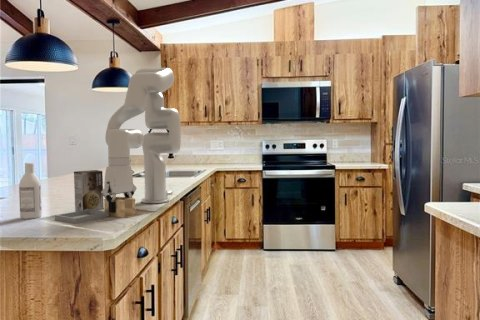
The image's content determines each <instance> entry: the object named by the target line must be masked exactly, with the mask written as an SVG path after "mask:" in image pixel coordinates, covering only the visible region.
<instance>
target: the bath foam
mask: <svg viewBox="0 0 480 320" xmlns="http://www.w3.org/2000/svg"><path fill="white" fill-rule="evenodd" d="M18 192H19V193H18V194H19V217H20V219H23V220H31V219H38V218H40V217H42V183H41V181H40V179H39V177H38V176H37V175H36V173H35V163H34V162H25V163H24V174H23V176H22V177H21V179H20V181H19V187H18Z"/></svg>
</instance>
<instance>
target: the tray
mask: <svg viewBox="0 0 480 320" xmlns="http://www.w3.org/2000/svg"><path fill="white" fill-rule="evenodd" d="M84 215H85V216H84ZM78 216H80V217H78ZM108 217H110V216H109V212H105V211H103V210H90V209H87V210H81V211H76V212H75V211H71V212H64V213H61V214H55V215H54V220H55V221H60V222H66V223H71V224H80V223H85V222H90V221H93V220H99V219H103V218H108Z"/></svg>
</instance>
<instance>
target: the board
mask: <svg viewBox="0 0 480 320" xmlns="http://www.w3.org/2000/svg"><path fill="white" fill-rule="evenodd" d="M155 212H157V211H155V210H147V209H142V208H141V209H139V208H135V215H131V216H126V217H119V218H121V219H130V218H135V217H139V216H143V215H147V214H151V213H152V214H153V213H155ZM113 217H114V218H116V217H115V216H113Z"/></svg>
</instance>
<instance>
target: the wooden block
mask: <svg viewBox="0 0 480 320" xmlns="http://www.w3.org/2000/svg"><path fill="white" fill-rule="evenodd" d="M118 199H123V200H118ZM114 202H116V213H111V212H109V207H108V201H107V200H106V199H105V198H103V203H104V209H103V210H104V212H109V217H114V216H115V217H114V218H120V217H126V216H131V215H135V209H136V198H135V197H132V198H126V197H125V196H116V197H115V200H114Z"/></svg>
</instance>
